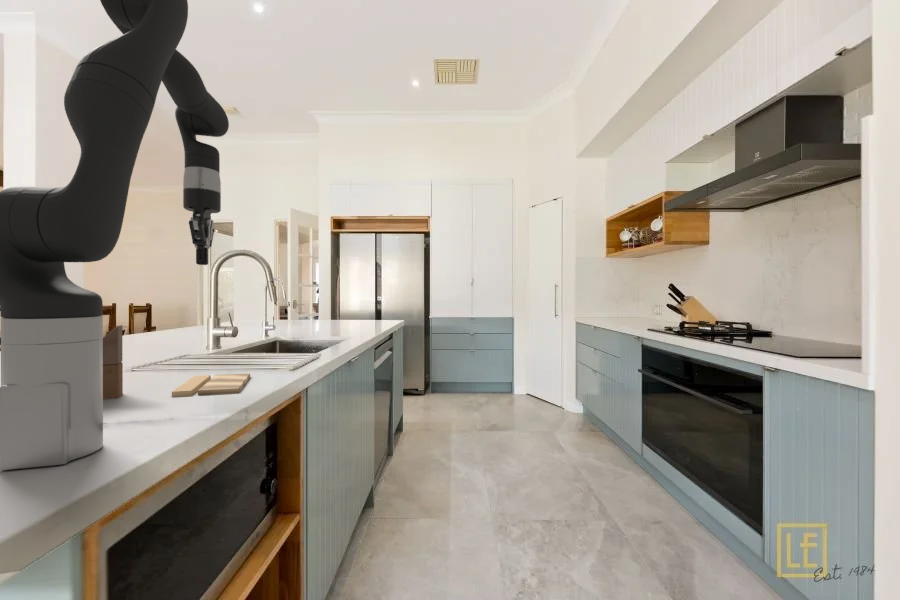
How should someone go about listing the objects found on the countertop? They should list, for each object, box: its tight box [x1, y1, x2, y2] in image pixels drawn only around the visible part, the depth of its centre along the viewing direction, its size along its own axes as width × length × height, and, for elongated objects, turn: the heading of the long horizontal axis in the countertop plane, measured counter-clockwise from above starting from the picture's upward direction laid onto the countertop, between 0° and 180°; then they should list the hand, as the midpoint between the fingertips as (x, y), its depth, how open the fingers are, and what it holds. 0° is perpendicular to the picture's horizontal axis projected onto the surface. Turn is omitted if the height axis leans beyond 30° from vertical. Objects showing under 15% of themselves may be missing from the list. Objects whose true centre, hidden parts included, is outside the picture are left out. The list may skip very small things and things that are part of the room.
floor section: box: [171, 374, 212, 398], centre depth 88 cm, size 17×12×2 cm
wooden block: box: [103, 324, 124, 400], centre depth 76 cm, size 4×11×18 cm, turn 118°
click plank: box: [197, 373, 251, 396], centre depth 88 cm, size 16×7×1 cm, turn 18°
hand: (202, 264), depth 97 cm, fingers closed
